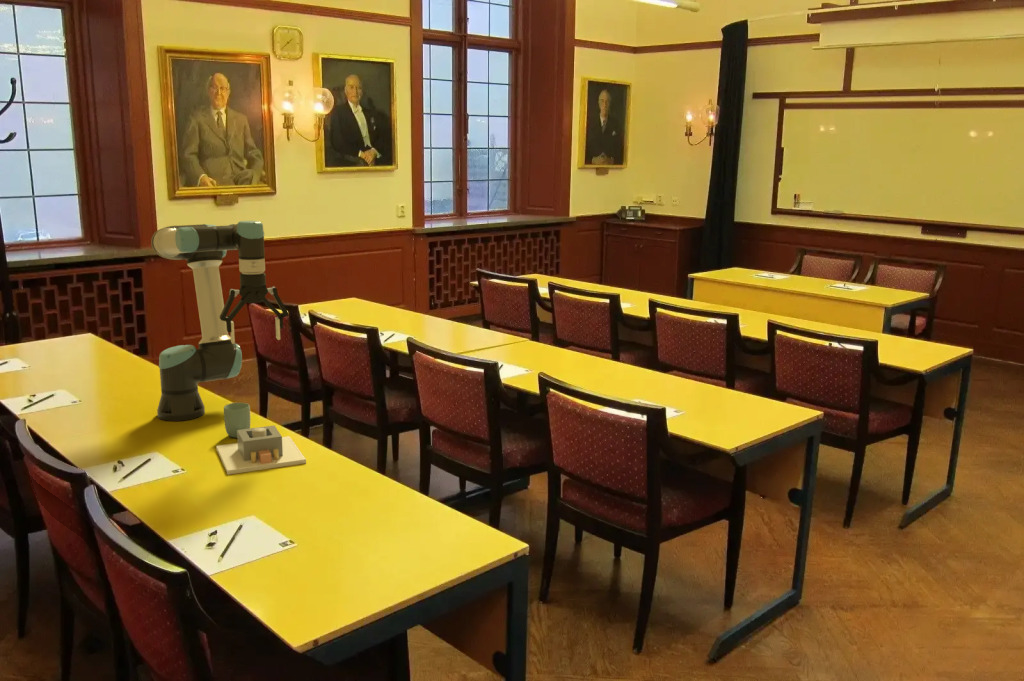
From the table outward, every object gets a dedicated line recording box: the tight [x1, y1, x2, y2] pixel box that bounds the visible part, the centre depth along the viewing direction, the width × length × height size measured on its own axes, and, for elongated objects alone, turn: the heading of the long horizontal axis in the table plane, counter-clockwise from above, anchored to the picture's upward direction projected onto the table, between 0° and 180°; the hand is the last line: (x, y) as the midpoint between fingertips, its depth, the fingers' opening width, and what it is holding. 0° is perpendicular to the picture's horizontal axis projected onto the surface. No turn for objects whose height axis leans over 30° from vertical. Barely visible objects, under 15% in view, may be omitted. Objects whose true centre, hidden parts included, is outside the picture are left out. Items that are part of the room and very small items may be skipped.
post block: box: [216, 427, 307, 476], centre depth 249 cm, size 22×22×8 cm
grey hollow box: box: [236, 425, 283, 464], centre depth 247 cm, size 15×11×6 cm
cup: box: [223, 402, 252, 439], centre depth 265 cm, size 8×8×10 cm
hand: (255, 340), depth 258 cm, fingers open, 13 cm apart
